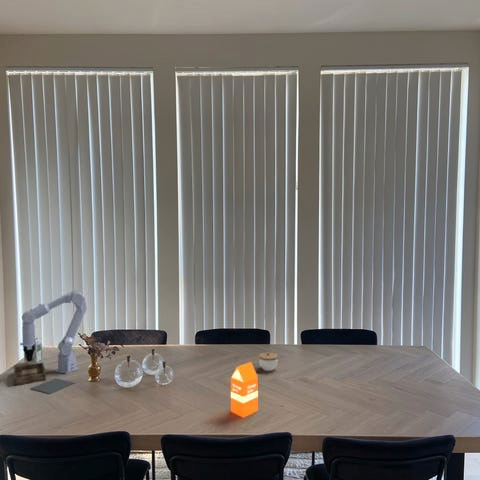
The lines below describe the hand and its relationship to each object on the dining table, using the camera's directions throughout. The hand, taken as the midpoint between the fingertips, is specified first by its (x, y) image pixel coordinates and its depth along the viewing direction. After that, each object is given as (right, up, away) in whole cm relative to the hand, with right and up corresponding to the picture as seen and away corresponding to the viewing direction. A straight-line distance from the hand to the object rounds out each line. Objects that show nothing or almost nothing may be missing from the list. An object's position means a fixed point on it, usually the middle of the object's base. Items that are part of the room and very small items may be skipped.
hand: (29, 359), depth 201 cm
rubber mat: (+19, -9, -13) cm, 25 cm away
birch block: (0, -1, 0) cm, 1 cm away
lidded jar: (+128, -8, +8) cm, 129 cm away
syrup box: (-8, -9, +21) cm, 24 cm away
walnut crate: (0, -9, 0) cm, 9 cm away
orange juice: (+114, -9, -40) cm, 122 cm away
